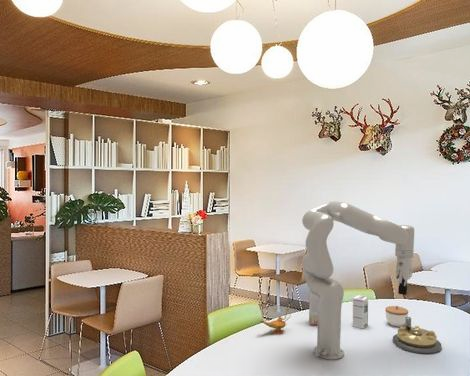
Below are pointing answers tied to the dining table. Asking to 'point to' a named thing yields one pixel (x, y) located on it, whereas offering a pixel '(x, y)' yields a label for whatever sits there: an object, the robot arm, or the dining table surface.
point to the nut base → (417, 350)
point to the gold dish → (416, 336)
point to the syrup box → (360, 311)
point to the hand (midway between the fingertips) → (402, 293)
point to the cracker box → (313, 308)
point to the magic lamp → (277, 324)
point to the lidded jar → (396, 315)
